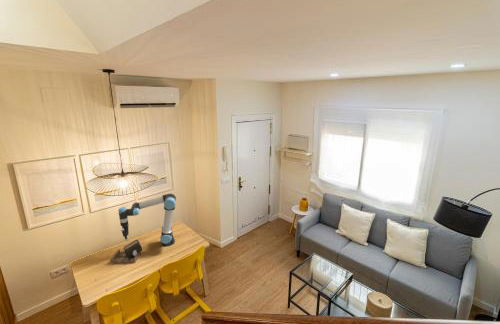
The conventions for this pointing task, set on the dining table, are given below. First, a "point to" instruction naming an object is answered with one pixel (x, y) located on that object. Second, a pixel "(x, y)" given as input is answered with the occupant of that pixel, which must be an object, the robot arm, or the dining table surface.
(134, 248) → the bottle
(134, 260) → the walnut rest
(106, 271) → the dining table surface
